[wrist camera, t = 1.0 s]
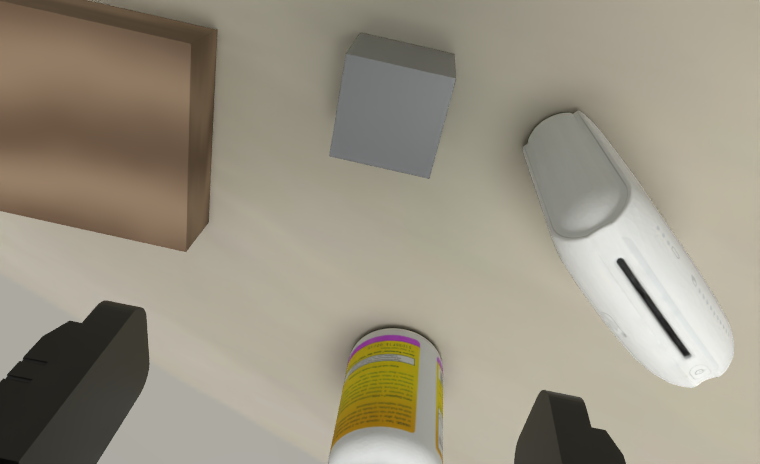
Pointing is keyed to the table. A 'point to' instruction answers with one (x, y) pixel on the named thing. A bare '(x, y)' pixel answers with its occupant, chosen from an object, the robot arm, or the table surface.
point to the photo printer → (626, 254)
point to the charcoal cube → (392, 104)
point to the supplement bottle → (391, 402)
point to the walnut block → (106, 119)
